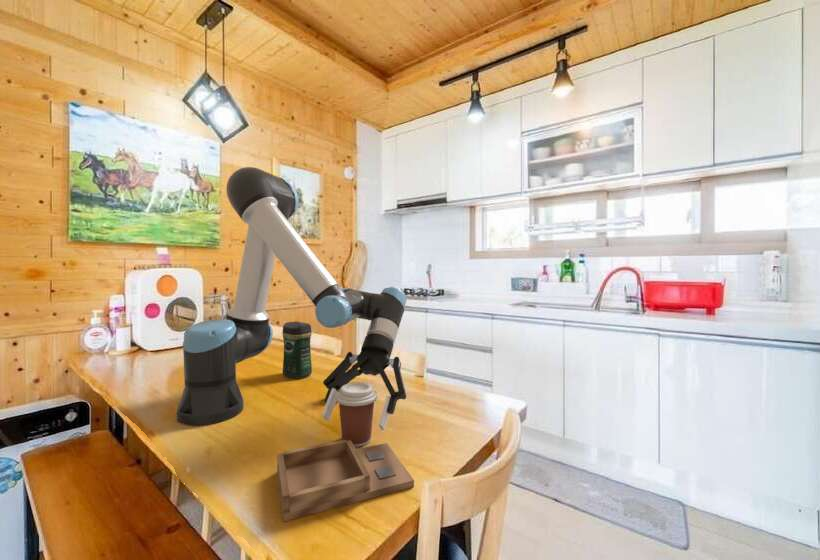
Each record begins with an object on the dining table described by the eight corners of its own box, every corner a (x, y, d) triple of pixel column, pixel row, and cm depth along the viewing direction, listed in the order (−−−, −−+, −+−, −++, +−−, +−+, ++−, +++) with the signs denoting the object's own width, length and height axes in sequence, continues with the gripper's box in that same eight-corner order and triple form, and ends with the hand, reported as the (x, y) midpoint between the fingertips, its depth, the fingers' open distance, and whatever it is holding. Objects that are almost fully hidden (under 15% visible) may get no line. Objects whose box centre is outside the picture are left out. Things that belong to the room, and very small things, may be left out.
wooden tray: (283, 522, 54) (283, 498, 54) (277, 471, 67) (277, 452, 67) (413, 486, 63) (414, 466, 63) (386, 448, 76) (386, 431, 76)
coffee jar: (315, 374, 124) (315, 321, 123) (297, 381, 117) (297, 325, 116) (297, 369, 129) (296, 319, 128) (278, 375, 123) (278, 322, 121)
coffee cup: (338, 430, 84) (338, 380, 83) (376, 429, 85) (377, 379, 84) (333, 451, 75) (333, 395, 74) (376, 449, 75) (377, 394, 75)
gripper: (429, 352, 90) (410, 438, 76) (341, 344, 97) (310, 421, 84) (424, 335, 84) (403, 425, 71) (331, 328, 92) (296, 407, 78)
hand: (352, 423), depth 77 cm, fingers open, 13 cm apart
